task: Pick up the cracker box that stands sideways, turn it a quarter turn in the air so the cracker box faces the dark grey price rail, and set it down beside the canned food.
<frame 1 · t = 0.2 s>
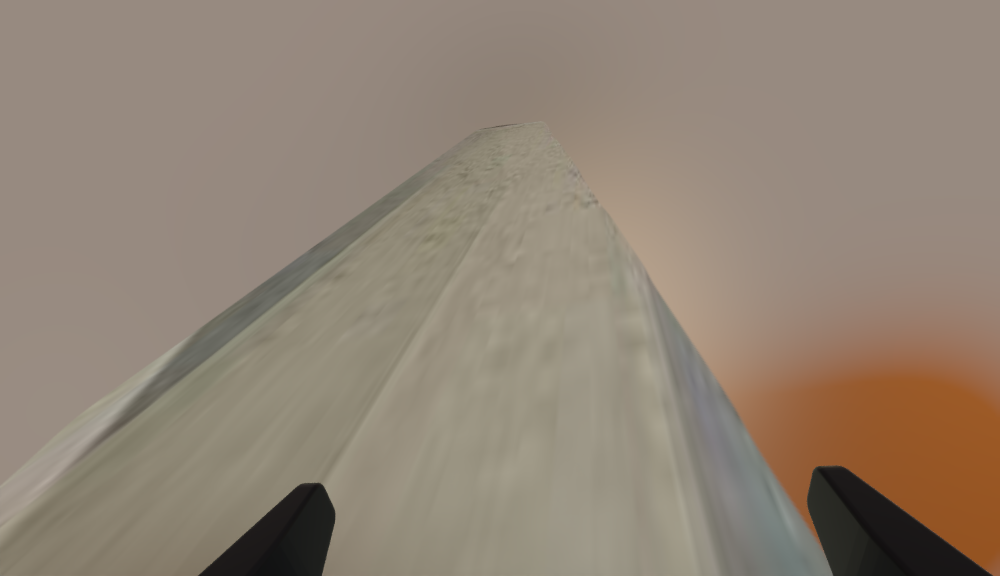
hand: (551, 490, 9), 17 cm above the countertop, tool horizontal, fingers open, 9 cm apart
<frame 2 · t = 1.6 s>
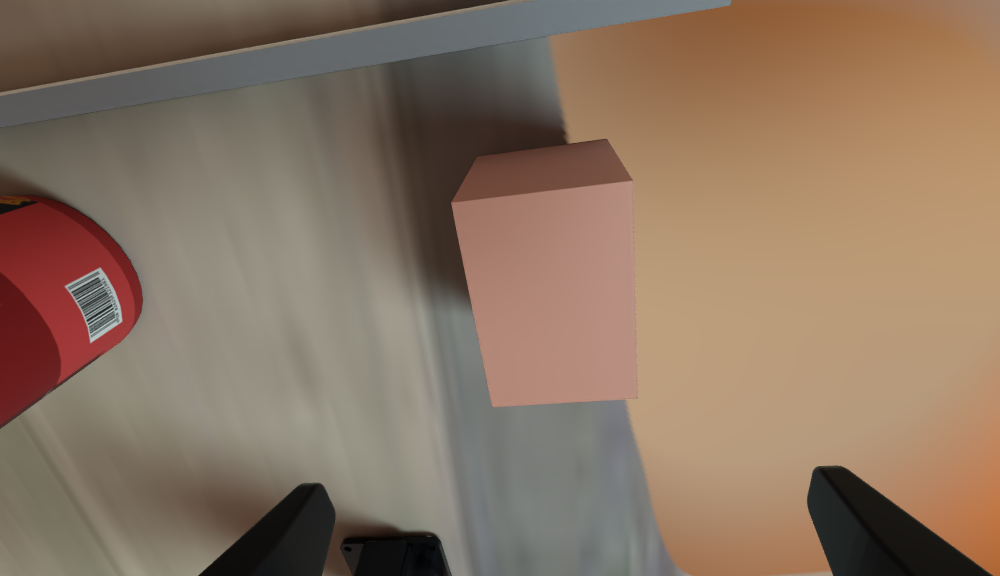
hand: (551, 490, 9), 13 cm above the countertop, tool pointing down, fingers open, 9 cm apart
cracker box: (550, 237, 20), on the countertop
canned food: (71, 268, 23), on the countertop
price rail: (261, 68, 18), on the countertop
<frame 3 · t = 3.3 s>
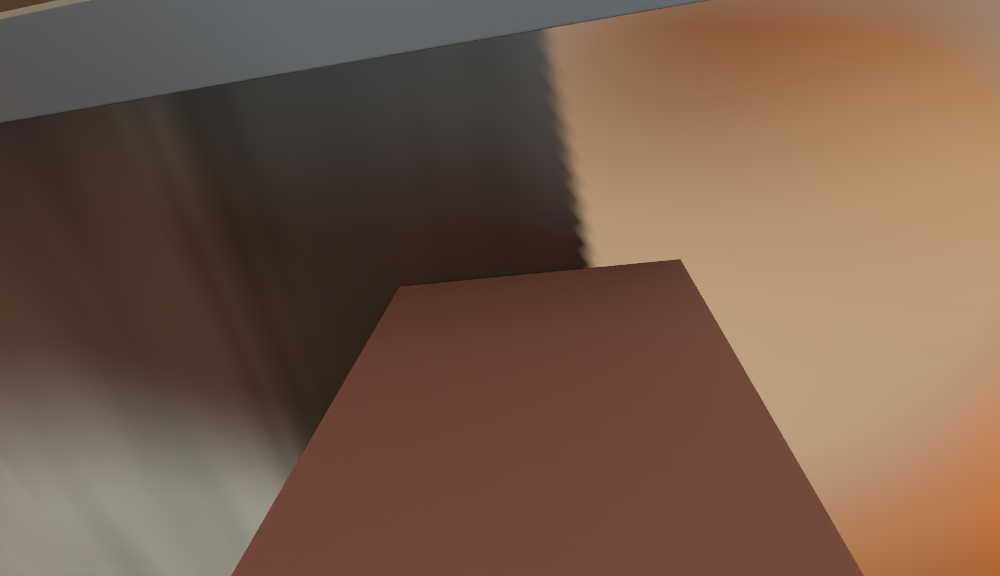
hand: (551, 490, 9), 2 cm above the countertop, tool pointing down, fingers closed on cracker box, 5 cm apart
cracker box: (554, 429, 10), on the countertop, touching gripper
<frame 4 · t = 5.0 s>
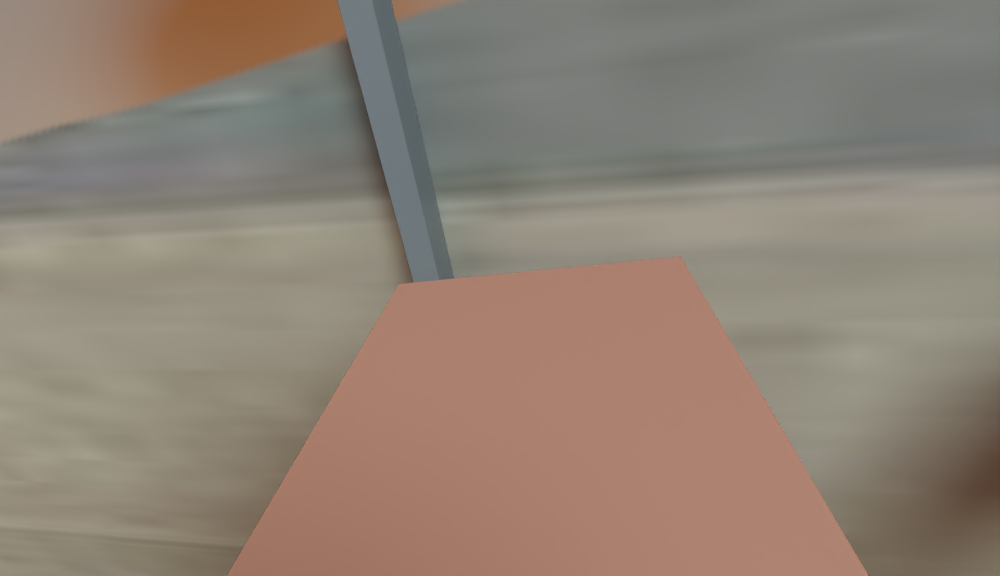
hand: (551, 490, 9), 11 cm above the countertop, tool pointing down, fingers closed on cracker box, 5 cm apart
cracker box: (554, 427, 10), point 10 cm above the countertop, touching gripper
price rail: (447, 304, 20), on the countertop
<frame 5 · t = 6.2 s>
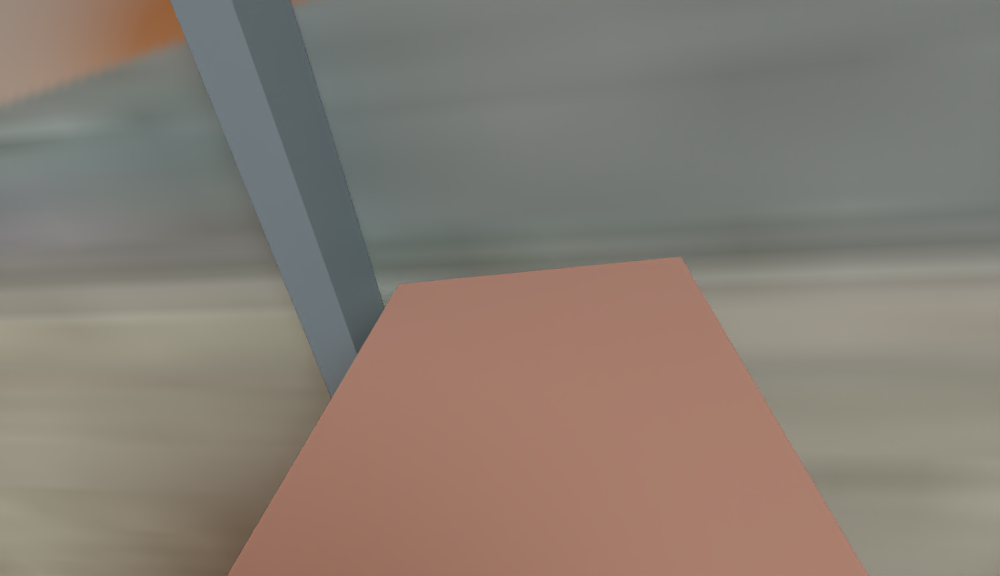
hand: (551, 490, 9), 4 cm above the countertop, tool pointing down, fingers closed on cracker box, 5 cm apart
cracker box: (554, 428, 10), point 3 cm above the countertop, touching gripper
price rail: (402, 420, 14), on the countertop
when the fingers open (3 cm above the countertop, at t = 6.9 s): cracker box drops 2 cm, on the countertop.
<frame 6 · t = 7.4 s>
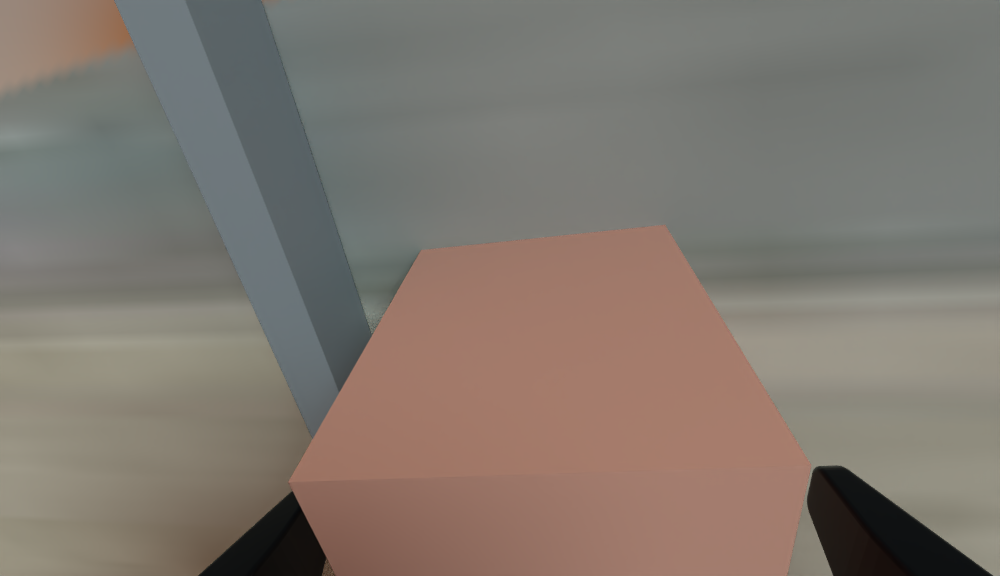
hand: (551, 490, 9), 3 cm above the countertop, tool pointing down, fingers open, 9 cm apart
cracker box: (555, 379, 12), on the countertop
price rail: (392, 452, 13), on the countertop
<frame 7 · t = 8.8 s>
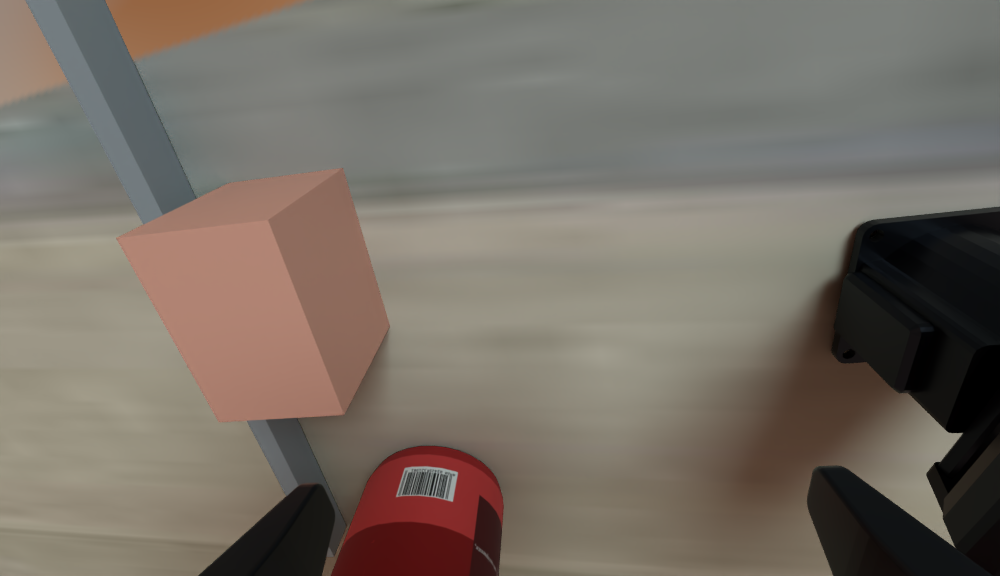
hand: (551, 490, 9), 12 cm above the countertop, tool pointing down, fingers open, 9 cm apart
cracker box: (315, 258, 21), on the countertop
canned food: (437, 486, 28), on the countertop
price rail: (236, 308, 23), on the countertop
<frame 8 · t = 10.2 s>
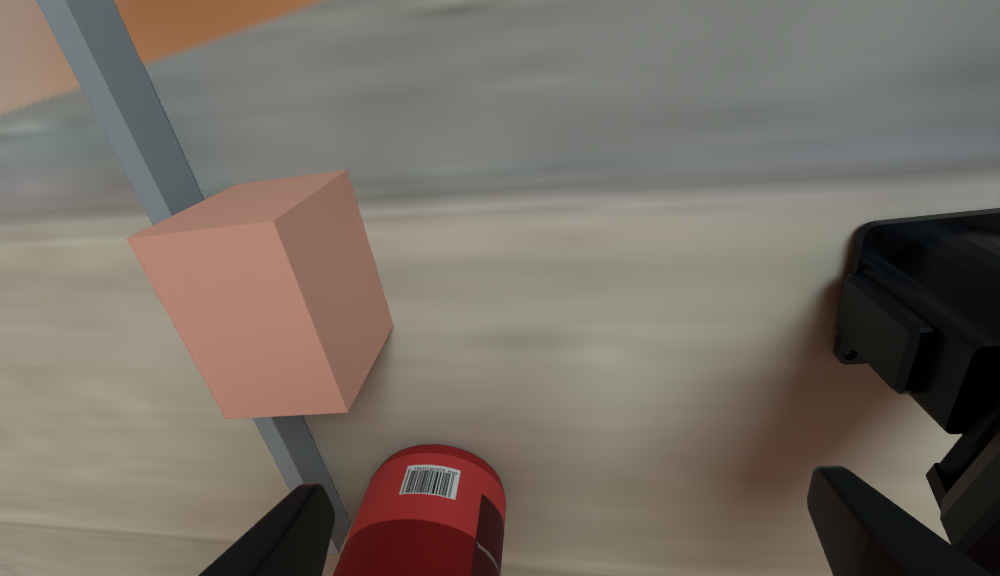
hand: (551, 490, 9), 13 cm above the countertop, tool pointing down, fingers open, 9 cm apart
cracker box: (320, 258, 21), on the countertop
canned food: (440, 484, 28), on the countertop
price rail: (243, 307, 23), on the countertop
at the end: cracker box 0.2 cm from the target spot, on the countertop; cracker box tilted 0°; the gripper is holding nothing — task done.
